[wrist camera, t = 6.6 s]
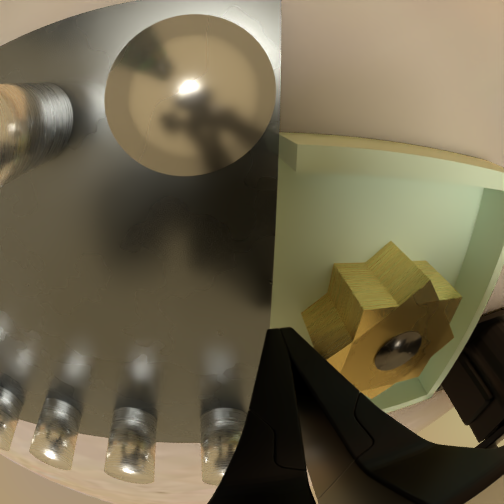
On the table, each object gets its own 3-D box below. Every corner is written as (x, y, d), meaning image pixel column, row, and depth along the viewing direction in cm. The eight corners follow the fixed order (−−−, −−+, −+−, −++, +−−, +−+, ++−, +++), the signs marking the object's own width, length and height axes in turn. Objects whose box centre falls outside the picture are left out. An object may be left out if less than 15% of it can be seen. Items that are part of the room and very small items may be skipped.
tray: (486, 160, 9) (528, 179, 7) (413, 367, 15) (430, 397, 12) (275, 132, 8) (297, 144, 6) (262, 397, 14) (269, 437, 11)
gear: (446, 241, 10) (486, 275, 7) (402, 347, 12) (425, 385, 10) (313, 240, 9) (343, 287, 7) (290, 364, 12) (303, 413, 9)
